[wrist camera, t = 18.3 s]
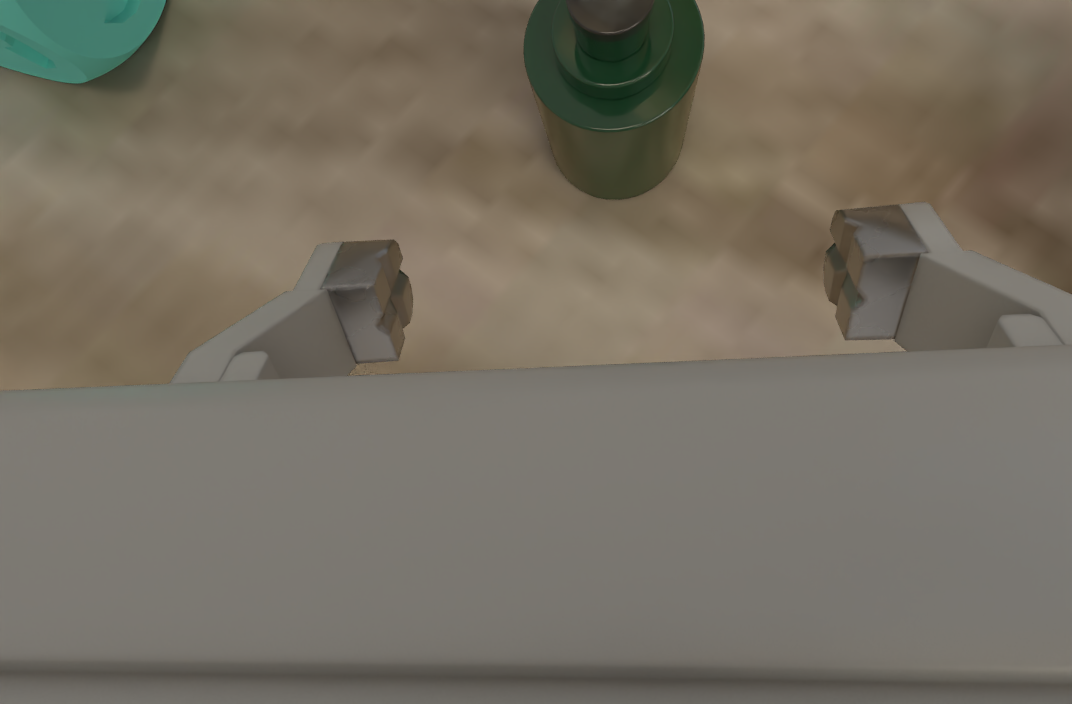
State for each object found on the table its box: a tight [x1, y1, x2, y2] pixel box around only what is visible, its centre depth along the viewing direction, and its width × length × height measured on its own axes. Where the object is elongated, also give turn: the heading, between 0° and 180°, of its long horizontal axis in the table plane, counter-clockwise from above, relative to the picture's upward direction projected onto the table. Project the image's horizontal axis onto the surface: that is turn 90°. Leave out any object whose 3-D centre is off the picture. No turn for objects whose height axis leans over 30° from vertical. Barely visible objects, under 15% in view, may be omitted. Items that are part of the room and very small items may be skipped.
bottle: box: [524, 0, 705, 199], centre depth 20 cm, size 5×5×9 cm
